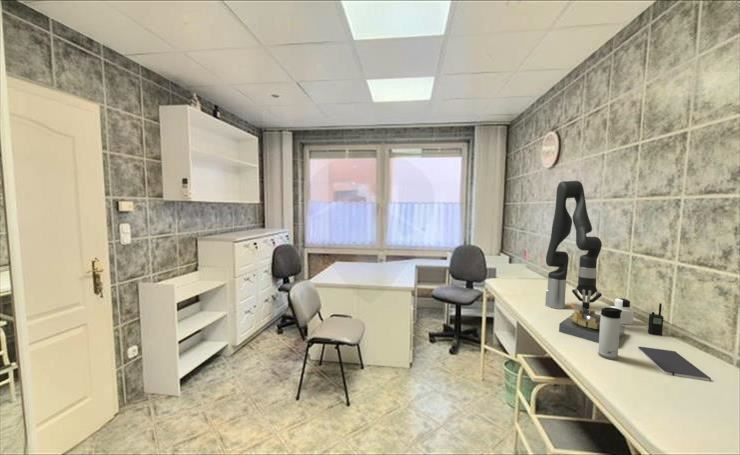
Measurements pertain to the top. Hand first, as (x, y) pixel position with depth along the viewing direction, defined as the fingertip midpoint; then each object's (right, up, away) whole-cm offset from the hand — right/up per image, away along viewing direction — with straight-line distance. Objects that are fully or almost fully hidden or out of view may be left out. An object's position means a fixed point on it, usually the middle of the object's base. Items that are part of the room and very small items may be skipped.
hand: (585, 309), depth 158 cm
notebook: (+6, -12, -38) cm, 40 cm away
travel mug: (-14, -10, -33) cm, 37 cm away
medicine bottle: (+22, -8, +4) cm, 23 cm away
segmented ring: (-4, -3, -7) cm, 8 cm away
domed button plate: (-4, -8, -10) cm, 14 cm away
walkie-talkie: (+25, -9, -11) cm, 29 cm away
